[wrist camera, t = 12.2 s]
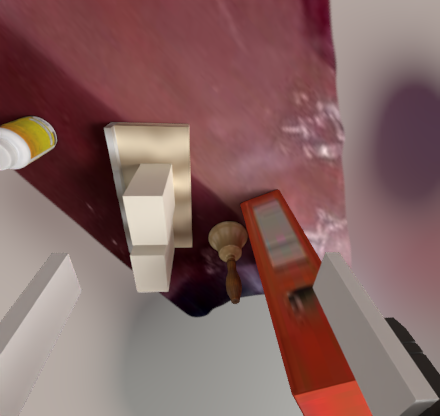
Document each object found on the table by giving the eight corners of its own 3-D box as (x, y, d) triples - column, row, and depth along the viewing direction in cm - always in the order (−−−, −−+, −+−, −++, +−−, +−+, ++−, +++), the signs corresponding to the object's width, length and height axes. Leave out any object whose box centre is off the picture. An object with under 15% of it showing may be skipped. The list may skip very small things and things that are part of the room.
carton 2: (143, 214, 46) (127, 255, 36) (172, 214, 46) (164, 255, 37) (148, 247, 50) (135, 292, 41) (174, 247, 50) (168, 291, 41)
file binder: (280, 188, 47) (387, 373, 20) (298, 251, 56) (390, 439, 28) (239, 203, 48) (288, 397, 21) (264, 262, 57) (320, 453, 30)
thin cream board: (109, 122, 39) (101, 127, 36) (189, 123, 40) (188, 129, 37) (131, 241, 51) (127, 253, 48) (192, 241, 52) (191, 252, 49)
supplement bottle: (31, 106, 37) (-22, 122, 28) (65, 134, 39) (26, 157, 31) (12, 132, 39) (-43, 154, 30) (46, 157, 41) (5, 184, 32)
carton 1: (139, 163, 40) (119, 196, 31) (171, 163, 41) (162, 196, 32) (145, 205, 45) (130, 245, 35) (175, 205, 45) (167, 244, 36)
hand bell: (236, 256, 55) (247, 321, 42) (202, 245, 53) (202, 310, 40) (254, 228, 51) (273, 290, 38) (218, 215, 49) (224, 276, 36)
